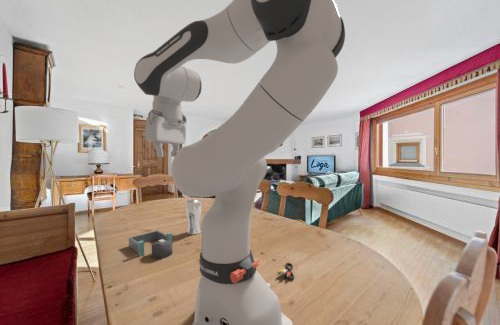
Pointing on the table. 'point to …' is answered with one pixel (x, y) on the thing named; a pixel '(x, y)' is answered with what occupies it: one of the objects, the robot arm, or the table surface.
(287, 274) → the composite cable
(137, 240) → the cable holder
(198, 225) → the beer glass
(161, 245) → the dark grey rounded dome
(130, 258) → the table surface
